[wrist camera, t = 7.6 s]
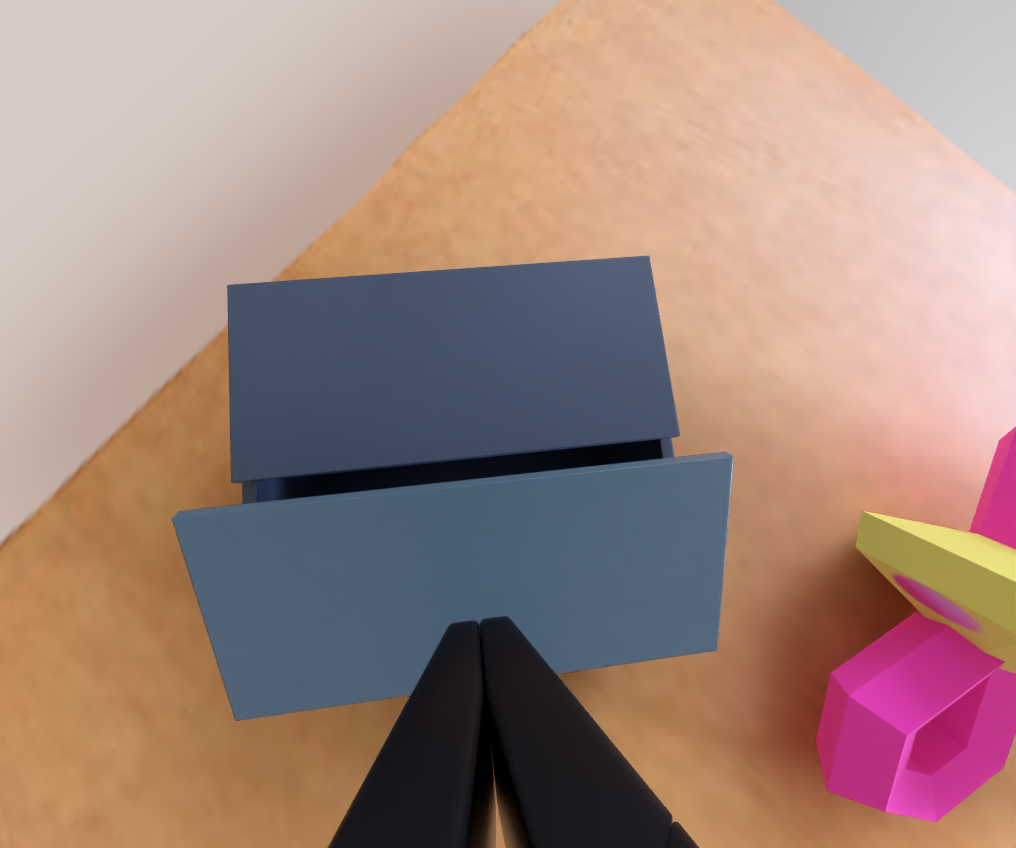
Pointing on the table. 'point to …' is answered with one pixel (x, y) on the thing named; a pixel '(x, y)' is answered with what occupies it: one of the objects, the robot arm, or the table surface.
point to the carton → (445, 376)
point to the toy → (932, 662)
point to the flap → (458, 576)
